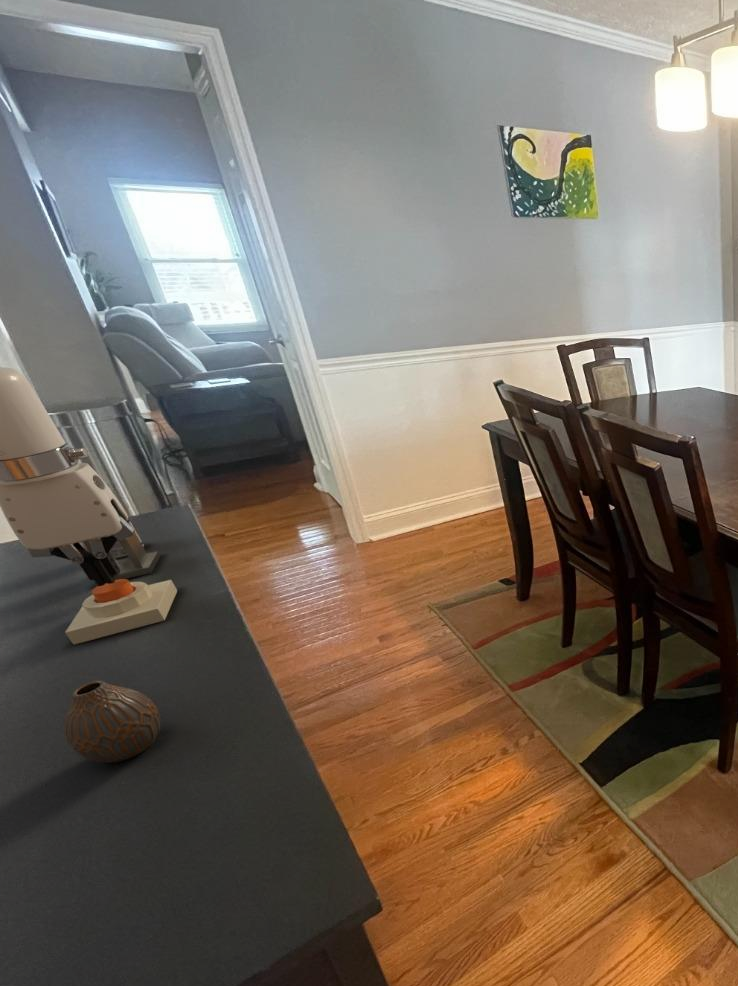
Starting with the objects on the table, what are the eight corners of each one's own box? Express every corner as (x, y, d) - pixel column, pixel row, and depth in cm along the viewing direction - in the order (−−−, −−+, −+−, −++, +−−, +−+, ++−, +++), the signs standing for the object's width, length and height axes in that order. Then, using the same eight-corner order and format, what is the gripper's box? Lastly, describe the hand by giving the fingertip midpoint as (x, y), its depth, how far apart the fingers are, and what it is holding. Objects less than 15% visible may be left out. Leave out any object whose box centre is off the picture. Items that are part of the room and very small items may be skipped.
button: (94, 606, 86) (87, 596, 85) (102, 594, 89) (95, 584, 88) (130, 597, 88) (124, 587, 87) (137, 585, 91) (131, 576, 90)
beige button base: (73, 645, 84) (57, 621, 82) (94, 611, 92) (79, 590, 90) (164, 620, 89) (151, 598, 87) (177, 590, 96) (165, 569, 95)
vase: (81, 784, 62) (31, 722, 58) (95, 743, 67) (50, 684, 63) (167, 752, 66) (126, 691, 62) (174, 716, 71) (137, 657, 67)
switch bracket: (151, 573, 102) (118, 516, 97) (96, 586, 99) (59, 528, 94) (160, 556, 107) (129, 502, 102) (108, 568, 104) (73, 513, 99)
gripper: (116, 444, 85) (178, 555, 94) (-35, 469, 78) (47, 586, 87) (101, 459, 80) (169, 575, 88) (-63, 487, 73) (28, 610, 81)
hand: (108, 580), depth 88 cm, fingers closed
